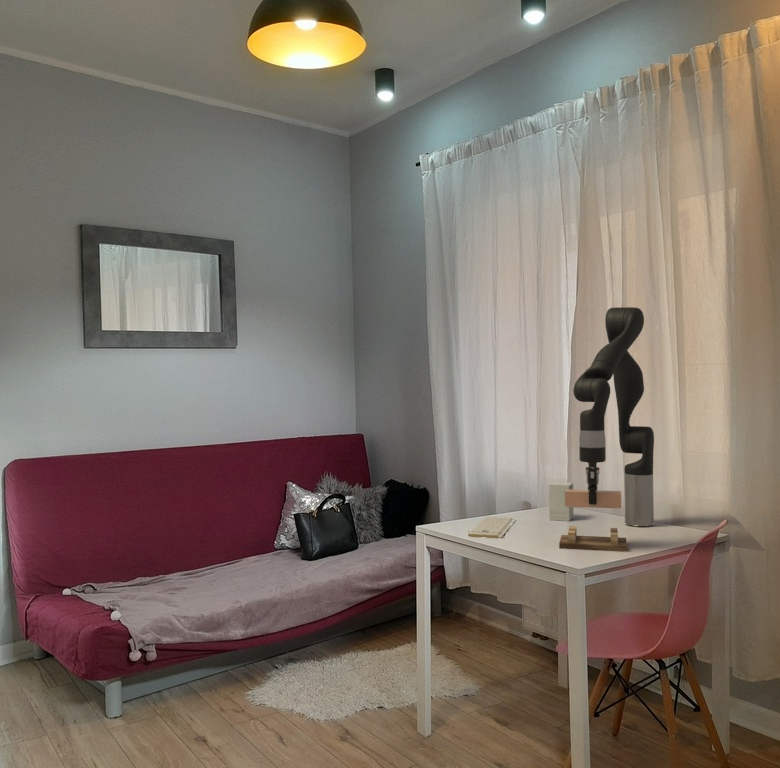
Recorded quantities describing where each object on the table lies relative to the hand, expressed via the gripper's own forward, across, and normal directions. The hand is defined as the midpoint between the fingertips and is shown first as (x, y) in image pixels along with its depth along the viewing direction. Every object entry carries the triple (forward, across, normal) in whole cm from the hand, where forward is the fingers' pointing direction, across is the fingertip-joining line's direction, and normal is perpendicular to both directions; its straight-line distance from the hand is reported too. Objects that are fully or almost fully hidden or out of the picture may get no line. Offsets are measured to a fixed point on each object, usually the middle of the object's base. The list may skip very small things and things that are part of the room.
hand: (592, 502), depth 222 cm
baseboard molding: (+13, +20, +32) cm, 40 cm away
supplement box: (+13, +41, +12) cm, 45 cm away
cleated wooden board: (+13, 0, 0) cm, 13 cm away
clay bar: (+1, 0, 0) cm, 1 cm away
